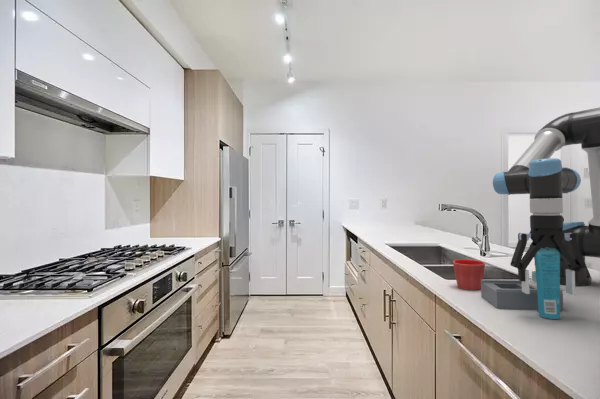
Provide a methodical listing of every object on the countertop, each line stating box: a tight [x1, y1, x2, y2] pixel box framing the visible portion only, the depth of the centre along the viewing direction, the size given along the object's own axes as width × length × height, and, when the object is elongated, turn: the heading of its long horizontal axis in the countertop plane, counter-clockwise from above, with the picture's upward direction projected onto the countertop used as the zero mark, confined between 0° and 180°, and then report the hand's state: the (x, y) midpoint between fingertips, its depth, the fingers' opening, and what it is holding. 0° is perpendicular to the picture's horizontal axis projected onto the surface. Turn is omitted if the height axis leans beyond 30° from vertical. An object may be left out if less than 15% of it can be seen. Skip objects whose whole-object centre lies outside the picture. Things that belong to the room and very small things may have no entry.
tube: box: [533, 248, 561, 320], centre depth 95 cm, size 7×5×19 cm, turn 96°
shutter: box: [529, 270, 566, 292], centre depth 107 cm, size 7×10×4 cm
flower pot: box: [452, 259, 486, 291], centre depth 128 cm, size 11×11×10 cm
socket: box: [480, 279, 564, 311], centre depth 108 cm, size 18×13×6 cm
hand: (547, 293), depth 96 cm, fingers open, 11 cm apart
